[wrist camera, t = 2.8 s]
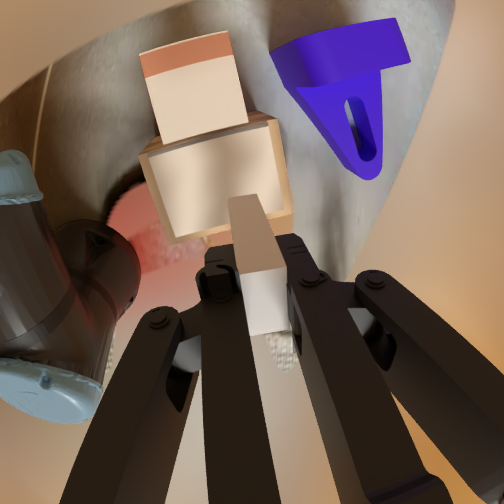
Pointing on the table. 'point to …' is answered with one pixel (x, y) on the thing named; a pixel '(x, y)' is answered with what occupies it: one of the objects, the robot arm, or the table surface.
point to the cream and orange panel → (194, 86)
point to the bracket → (344, 85)
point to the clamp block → (216, 176)
